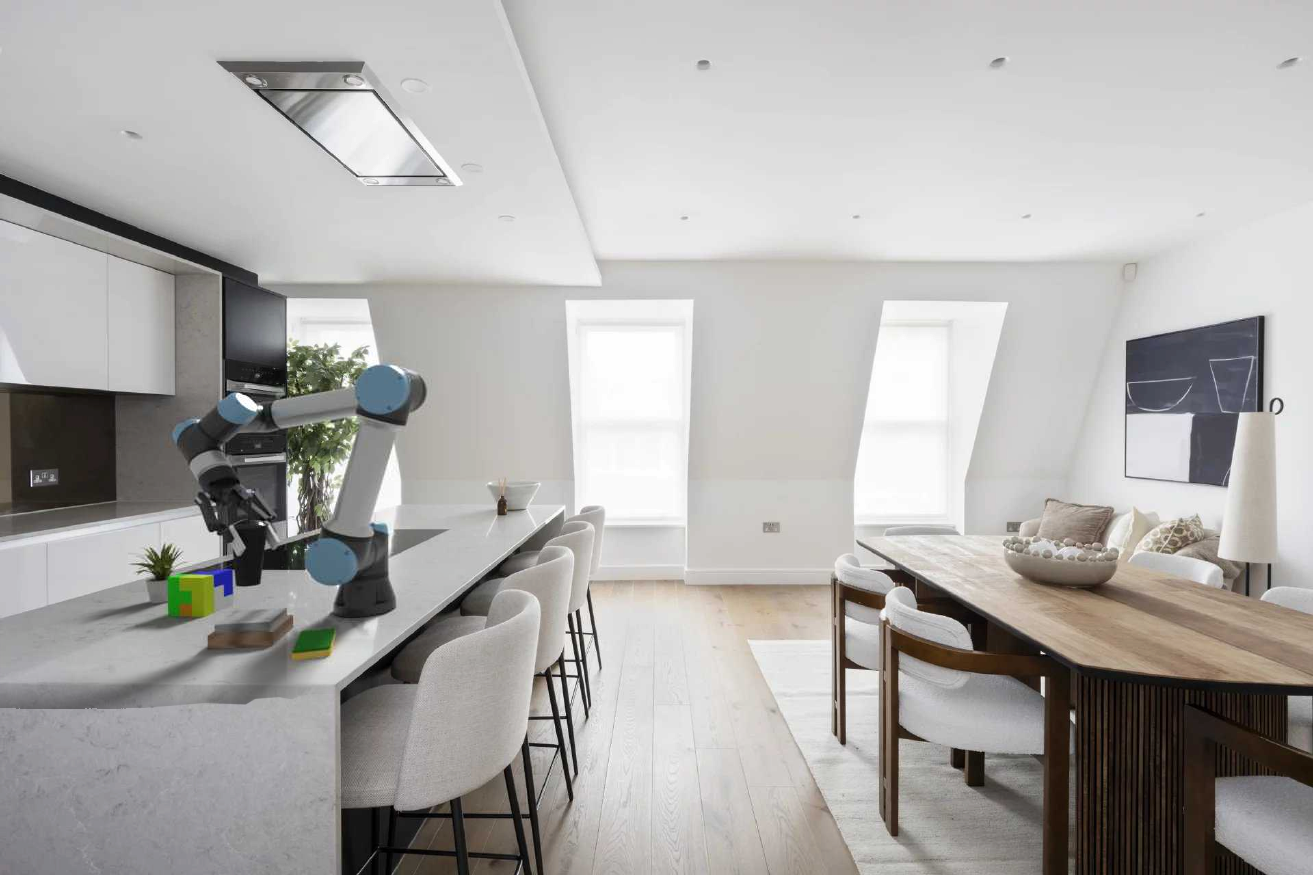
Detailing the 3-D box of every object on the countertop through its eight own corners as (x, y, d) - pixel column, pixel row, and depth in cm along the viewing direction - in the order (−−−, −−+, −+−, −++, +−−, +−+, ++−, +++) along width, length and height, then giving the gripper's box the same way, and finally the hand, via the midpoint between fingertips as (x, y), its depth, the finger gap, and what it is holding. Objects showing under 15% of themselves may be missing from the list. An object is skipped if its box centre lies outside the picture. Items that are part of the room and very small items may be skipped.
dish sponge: (291, 662, 136) (291, 650, 136) (300, 641, 149) (300, 630, 149) (330, 657, 139) (330, 646, 139) (335, 637, 152) (335, 627, 152)
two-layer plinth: (293, 627, 158) (292, 606, 158) (273, 645, 146) (272, 622, 145) (233, 630, 156) (233, 609, 156) (207, 649, 143) (207, 626, 143)
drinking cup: (239, 580, 154) (241, 495, 154) (273, 580, 154) (275, 495, 154) (220, 588, 146) (222, 498, 146) (256, 588, 147) (258, 498, 147)
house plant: (139, 596, 187) (137, 539, 187) (197, 591, 192) (196, 535, 192) (121, 609, 174) (120, 548, 173) (184, 603, 179) (183, 544, 179)
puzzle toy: (233, 606, 177) (232, 569, 177) (204, 617, 167) (203, 577, 167) (199, 605, 178) (198, 568, 178) (168, 616, 168) (167, 577, 168)
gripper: (251, 481, 166) (293, 551, 159) (161, 489, 148) (205, 568, 141) (264, 461, 163) (308, 531, 156) (174, 466, 145) (219, 545, 138)
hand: (259, 548), depth 149 cm, fingers closed on drinking cup, 7 cm apart
